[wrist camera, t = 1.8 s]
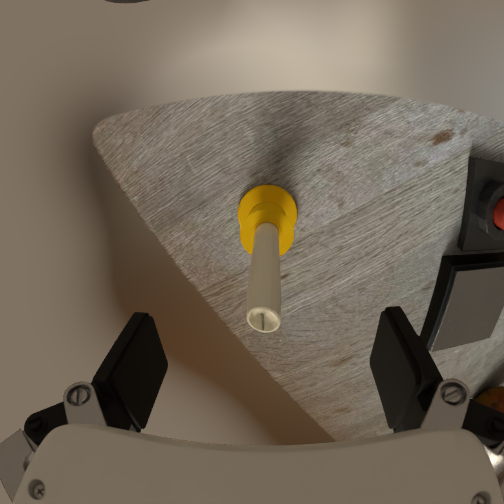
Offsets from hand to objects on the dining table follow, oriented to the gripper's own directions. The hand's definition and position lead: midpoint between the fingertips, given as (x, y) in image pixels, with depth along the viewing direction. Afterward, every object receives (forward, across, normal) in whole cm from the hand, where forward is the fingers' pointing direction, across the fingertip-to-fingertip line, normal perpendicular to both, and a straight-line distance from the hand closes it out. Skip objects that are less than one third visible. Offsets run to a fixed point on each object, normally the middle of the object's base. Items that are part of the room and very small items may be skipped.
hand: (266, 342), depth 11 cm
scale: (+16, -25, +10) cm, 31 cm away
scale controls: (+16, -25, -2) cm, 30 cm away
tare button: (+13, -25, -2) cm, 28 cm away
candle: (+16, 0, -1) cm, 16 cm away
